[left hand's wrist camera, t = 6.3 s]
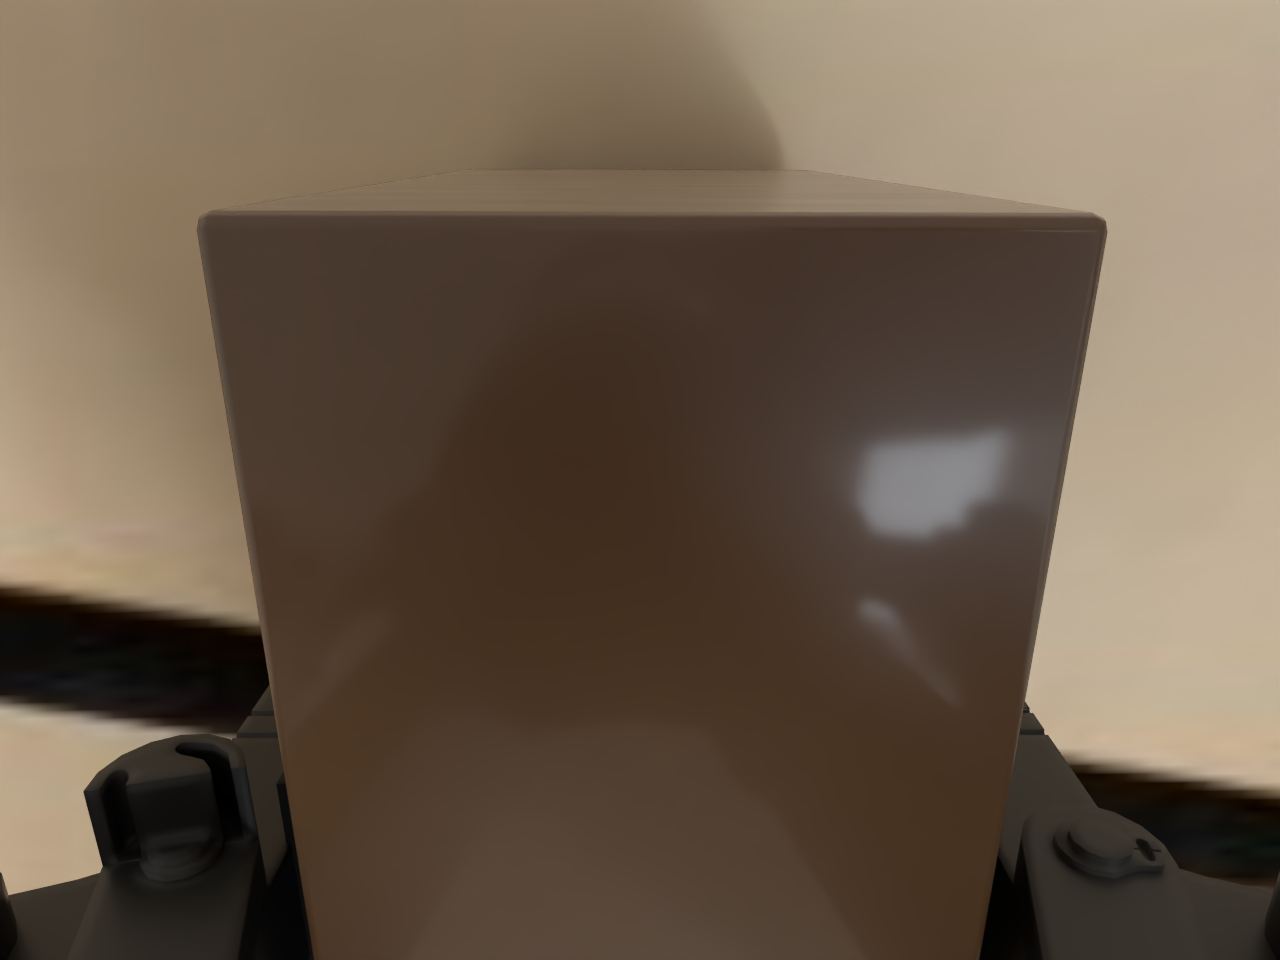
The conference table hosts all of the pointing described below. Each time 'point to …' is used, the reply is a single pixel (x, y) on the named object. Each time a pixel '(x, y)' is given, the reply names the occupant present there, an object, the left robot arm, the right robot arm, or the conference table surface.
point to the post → (649, 550)
